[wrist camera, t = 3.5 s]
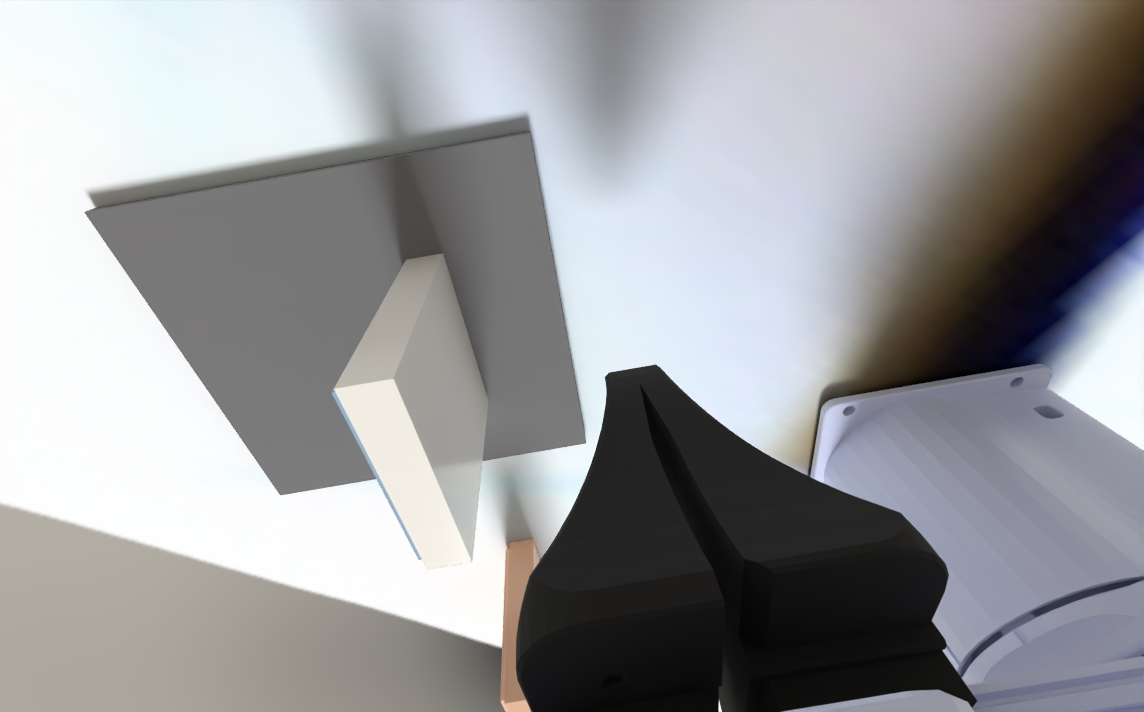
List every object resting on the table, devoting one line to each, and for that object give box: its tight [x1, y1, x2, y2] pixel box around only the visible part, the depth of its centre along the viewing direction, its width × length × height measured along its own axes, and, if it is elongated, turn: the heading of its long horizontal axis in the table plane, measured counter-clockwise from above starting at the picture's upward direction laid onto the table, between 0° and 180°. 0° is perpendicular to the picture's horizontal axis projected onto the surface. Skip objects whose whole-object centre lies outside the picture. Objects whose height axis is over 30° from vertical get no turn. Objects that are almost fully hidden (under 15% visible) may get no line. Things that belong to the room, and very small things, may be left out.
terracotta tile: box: [500, 539, 540, 712], centre depth 23 cm, size 1×6×7 cm, turn 9°
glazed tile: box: [331, 253, 488, 570], centre depth 14 cm, size 1×6×7 cm, turn 9°
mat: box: [85, 131, 586, 495], centre depth 17 cm, size 13×12×1 cm
